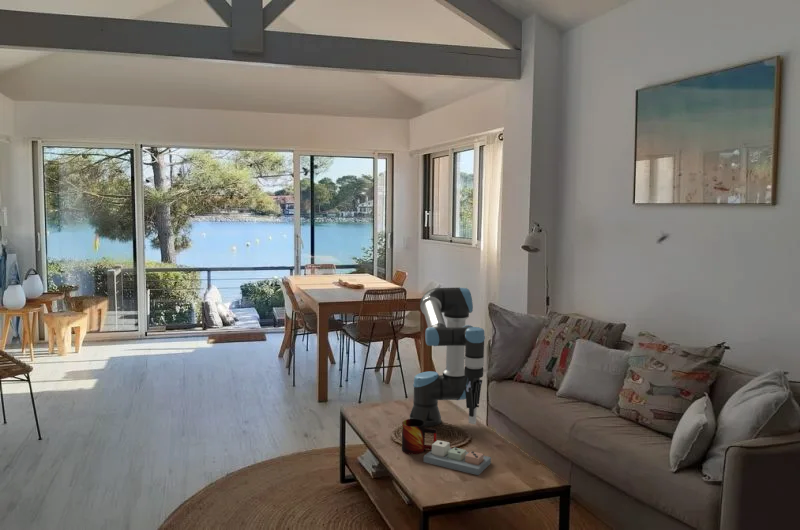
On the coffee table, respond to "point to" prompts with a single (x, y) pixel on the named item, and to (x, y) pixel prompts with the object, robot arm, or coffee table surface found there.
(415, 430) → the mug
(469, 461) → the key three
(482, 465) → the keypad board
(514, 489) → the coffee table surface
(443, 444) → the key one
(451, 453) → the key two
